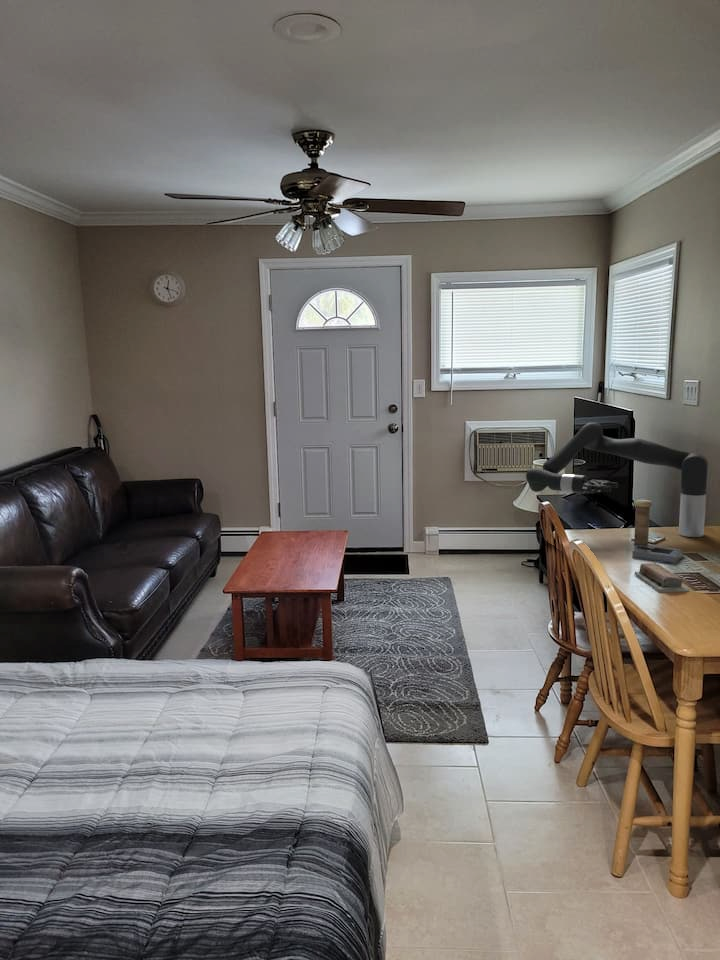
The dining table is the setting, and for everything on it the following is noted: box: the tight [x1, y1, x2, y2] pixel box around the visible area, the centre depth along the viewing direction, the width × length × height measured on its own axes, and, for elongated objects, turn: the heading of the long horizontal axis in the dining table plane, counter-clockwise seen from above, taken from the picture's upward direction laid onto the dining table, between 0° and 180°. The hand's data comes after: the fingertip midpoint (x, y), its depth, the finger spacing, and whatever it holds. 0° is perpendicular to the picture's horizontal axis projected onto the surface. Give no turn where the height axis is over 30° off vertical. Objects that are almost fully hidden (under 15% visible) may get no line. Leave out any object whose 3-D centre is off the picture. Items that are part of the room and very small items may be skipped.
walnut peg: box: [633, 499, 653, 547], centre depth 265 cm, size 6×6×18 cm
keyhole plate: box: [631, 544, 684, 564], centre depth 250 cm, size 12×15×2 cm
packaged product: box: [634, 562, 690, 593], centre depth 221 cm, size 18×5×10 cm
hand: (614, 487), depth 269 cm, fingers open, 8 cm apart
